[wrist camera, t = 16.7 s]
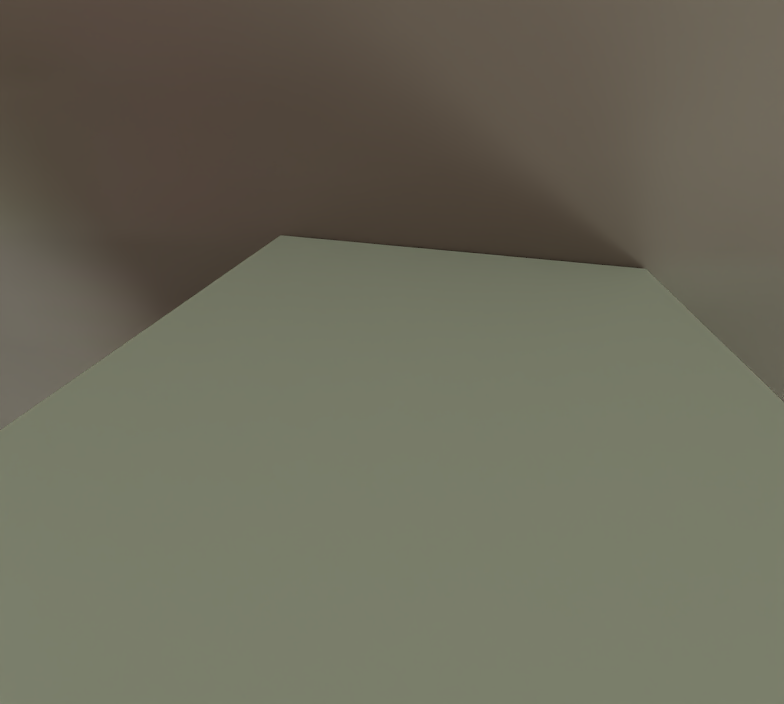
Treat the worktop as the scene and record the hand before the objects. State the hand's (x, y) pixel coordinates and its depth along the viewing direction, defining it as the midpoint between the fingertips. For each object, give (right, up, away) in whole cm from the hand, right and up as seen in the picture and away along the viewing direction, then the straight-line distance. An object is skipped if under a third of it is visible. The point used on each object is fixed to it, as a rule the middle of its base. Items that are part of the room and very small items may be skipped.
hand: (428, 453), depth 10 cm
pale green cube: (0, +1, +2) cm, 2 cm away
